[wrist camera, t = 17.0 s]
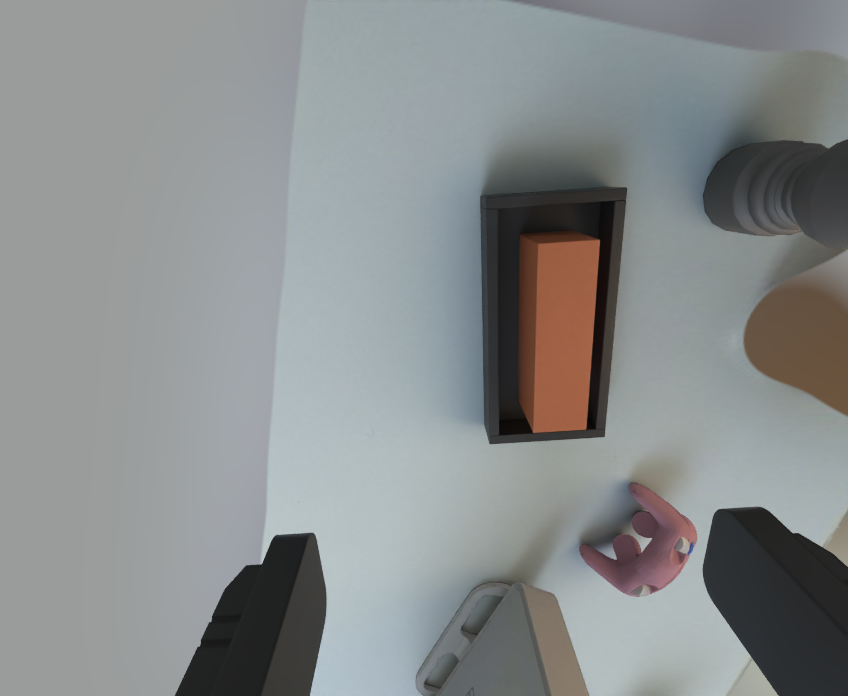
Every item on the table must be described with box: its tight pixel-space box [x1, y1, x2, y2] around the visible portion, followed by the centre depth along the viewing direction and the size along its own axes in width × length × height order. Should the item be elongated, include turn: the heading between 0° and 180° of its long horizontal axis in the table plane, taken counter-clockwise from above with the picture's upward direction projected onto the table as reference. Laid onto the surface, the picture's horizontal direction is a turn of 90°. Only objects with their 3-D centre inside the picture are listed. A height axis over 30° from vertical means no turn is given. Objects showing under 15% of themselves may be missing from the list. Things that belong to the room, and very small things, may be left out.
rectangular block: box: [518, 230, 600, 433], centre depth 34 cm, size 14×4×6 cm, turn 4°
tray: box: [480, 187, 627, 444], centre depth 35 cm, size 20×10×3 cm, turn 4°
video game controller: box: [579, 483, 697, 597], centre depth 42 cm, size 10×5×7 cm, turn 153°
